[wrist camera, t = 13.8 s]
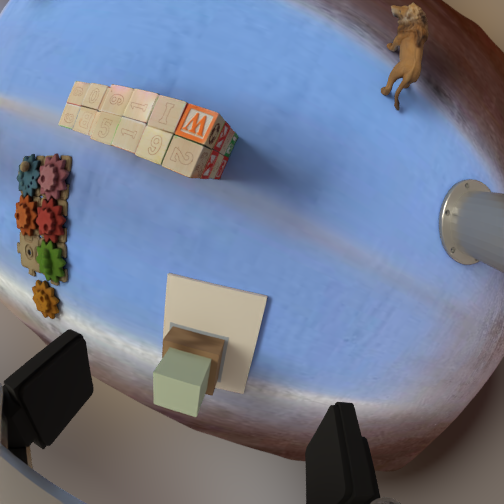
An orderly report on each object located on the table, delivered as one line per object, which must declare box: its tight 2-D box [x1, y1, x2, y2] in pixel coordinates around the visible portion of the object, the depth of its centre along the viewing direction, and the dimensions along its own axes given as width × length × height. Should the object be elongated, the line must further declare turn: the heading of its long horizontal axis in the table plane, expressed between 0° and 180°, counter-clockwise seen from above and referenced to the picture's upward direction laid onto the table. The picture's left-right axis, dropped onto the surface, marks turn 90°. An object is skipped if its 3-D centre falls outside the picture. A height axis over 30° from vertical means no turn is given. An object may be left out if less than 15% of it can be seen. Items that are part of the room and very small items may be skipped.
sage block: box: [153, 347, 211, 417], centre depth 34 cm, size 6×6×6 cm
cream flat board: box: [163, 273, 267, 394], centre depth 40 cm, size 14×18×1 cm
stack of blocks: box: [59, 81, 238, 180], centre depth 28 cm, size 21×6×12 cm, turn 66°
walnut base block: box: [162, 326, 225, 395], centre depth 39 cm, size 8×8×4 cm
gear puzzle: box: [15, 154, 72, 319], centre depth 39 cm, size 31×16×4 cm, turn 170°
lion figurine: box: [381, 3, 428, 110], centre depth 24 cm, size 15×5×9 cm, turn 174°
